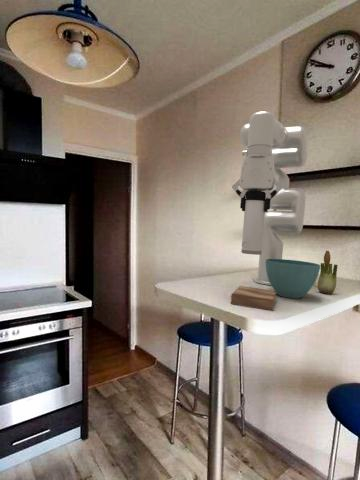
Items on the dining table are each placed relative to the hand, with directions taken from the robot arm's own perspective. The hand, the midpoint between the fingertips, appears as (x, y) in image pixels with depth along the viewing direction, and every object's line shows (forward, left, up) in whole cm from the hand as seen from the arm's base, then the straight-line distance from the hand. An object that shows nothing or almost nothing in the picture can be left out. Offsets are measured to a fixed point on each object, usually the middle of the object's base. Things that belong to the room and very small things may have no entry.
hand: (254, 210), depth 91 cm
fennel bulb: (-31, +25, -29) cm, 49 cm away
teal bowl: (-17, +12, -29) cm, 36 cm away
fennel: (-46, +26, -29) cm, 60 cm away
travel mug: (0, 0, -14) cm, 14 cm away
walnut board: (+1, +2, -29) cm, 29 cm away
